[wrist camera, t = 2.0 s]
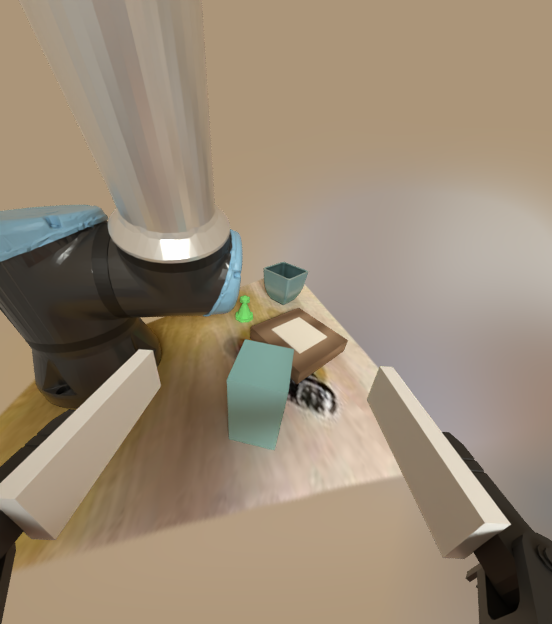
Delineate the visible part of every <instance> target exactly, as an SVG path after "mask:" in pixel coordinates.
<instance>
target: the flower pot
mask: <svg viewBox="0 0 552 624" xmlns="http://www.w3.org/2000/svg"><path fill="white" fill-rule="evenodd" d="M307 274H308V271H306V270H304V269H301V268H299V267H296V266H293V265H291V264H288V263H286V262H281V263H278V264H275V265H272V266H269V267H265V268H264V283H265V288H266V291H267V293H268V295H269V296H270V298H271V299H273V300H275V301H277V302H279V303H281V304H283V305H284V304H286V303H288V302H290V301H292V300H294V299H295V298H296V297H297V296H298V295H299V293H300V292H301V290H302V288H303V286H304V283H305V280H306V277H307Z"/></svg>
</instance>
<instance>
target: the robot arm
mask: <svg viewBox="0 0 552 624" xmlns="http://www.w3.org/2000/svg"><path fill="white" fill-rule="evenodd" d="M19 2H20V5H21V6H22V9H23V11H24V13H25V15H26V17H27V19H28V21H29V23H30V26H31V27H32V30H33V32H34V34H35V36H36V38H37V40H38V42H39V45H40V47H41V49H42V51H43V53H44V55H45V57H46V59H47V61H48V64H49V66H50V68H51V70H52V72H53V74H54V76H55V78H56V80H57V82H58V84H59V87H60V89H61V91H62V93H63V95H64V97H65V99H66V101H67V104H68V106H69V108H70V110H71V112H72V114H73V116H74V118H75V120H76V122H77V124H78V127H79V129H80V131H81V133H82V135H83V137H84V139H85V141H86V144H87V146H88V148H89V150H90V152H91V154H92V156H93V158H94V160H95V162H96V165H97V167H98V169H99V171H100V173H101V175H102V177H103V179H104V182H105V184H106V186H107V188H108V190H109V192H110V194H111V196H112V198H113V200H114V203H115V205H116V208H115V210H114V211H113V212H112V214H111V216H110V218H109V221H108V222H107V219H108V217H107V215H106V214H105V213H104V212H103V210H102V209H101V208H99V207H97V206H90V205H60V206H45V207H33V208H23V209H14V210H6V211H0V310H1V311H2V312H3V313H4V315H5V316H6V317H7V318H8V319H9V321H10V322H11V323H12V324H13V326H14V327H15V328H16V329H17V330H18V332H19V333H20V334H21V335H22V337H23V338H24V339H25V340H26V342H27V343H28V344H29V346H30V347H31V348H32V354H33V363H34V372H35V381H36V385H37V387H38V389H39V391H40V392H41V393H42V394H43V395H44V396H45V397H46V399H47V400H48V401H49V402H51V403H52V404H54V405H57V406H60V407H65V408H78V409H77V410H70V409H69V410H67V411H66V412H64V413H63V414H61V415H59V416H58V417H56V418H55V419H53V420H52V421H51V422H49V423H48V424H47V425H46V426H45V427H44V428H43V429H42V430H41V431H40V432H38V433H37V436H34V437H33V438H32V439H31V440H30V441H28V442H27V443H26V444H25V446H24V447H23V448H21V449H20V450H19V451H17V452H16V453H15V454H14V455H13V456H12V457H11V458H10V459H9V460H8V461H6V462H5V463H4V464H3V465H2V466H1V467H0V624H1V623H2V618H3V612H4V607H5V602H6V597H7V592H8V587H9V582H10V577H11V572H12V567H13V562H14V557H15V552H16V546H15V541H16V540H17V539H18V537H19V536H20V535H21V534H22V532H24V533H26V534H27V535H28V536H29V537H30V538H31V539H44V540H56V538H57V537H58V536H59V534H60V533H61V531H62V530H63V528H64V527H65V525H66V524H67V522H68V521H69V519H70V518H71V517H72V515H73V514H74V512H75V511H76V509H77V508H78V506H79V505H80V503H81V502H82V501H83V499H84V498H85V496H86V495H87V493H88V492H89V490H90V489H91V487H92V486H93V485H94V483H95V482H96V480H97V479H98V477H99V476H100V474H101V473H102V471H103V470H104V468H105V467H106V466H107V464H108V463H109V461H110V460H111V458H112V457H113V455H114V454H115V452H116V451H117V450H118V448H119V447H120V445H121V444H122V442H123V441H124V439H125V438H126V436H127V435H128V434H129V432H130V431H131V429H132V428H133V426H134V425H135V423H136V422H137V420H138V419H139V417H140V416H141V415H142V413H143V412H144V410H145V409H146V407H147V406H148V404H149V403H150V401H151V400H152V399H153V397H154V396H155V394H156V393H157V391H158V390H159V388H160V387H161V383H160V379H159V375H158V370H157V367H158V365H159V362H160V360H161V348H160V344H159V341H158V339H157V337H156V335H155V334H154V333H153V332H152V331H151V330H150V329H149V327H148V326H147V325H146V324H145V323H144V322H143V321H142V320H141V318H140V317H164V316H210V315H214V314H224V313H228V312H230V311H231V310H232V309H233V308H234V306H235V304H236V302H237V298H238V294H239V289H240V281H241V276H240V273H241V269H242V242H241V237H240V235H239V233H238V232H236V231H233V230H231V229H230V224H229V220H228V218H227V216H226V214H225V213H224V212H223V211H222V210H221V209H220V208H219V207H218V206H216V205H215V199H214V184H213V168H212V153H211V138H210V121H209V105H208V91H207V74H206V60H205V59H206V58H205V42H204V26H203V11H202V0H19ZM367 401H368V403H369V405H370V407H371V409H372V411H373V413H374V415H375V418H376V420H377V422H378V424H379V426H380V428H381V430H382V432H383V434H384V436H385V438H386V440H387V443H388V445H389V447H390V449H391V451H392V453H393V455H394V457H395V459H396V461H397V463H398V465H399V468H400V470H401V472H402V474H403V476H404V478H405V480H406V482H407V484H408V486H409V488H410V490H411V493H412V495H413V497H414V499H415V501H416V503H417V505H418V507H419V509H420V511H421V513H422V515H423V518H424V520H425V522H426V524H427V526H428V528H429V530H430V532H431V534H432V536H433V538H434V541H435V543H436V545H437V547H438V549H439V551H440V553H441V555H442V557H443V558H455V559H465V558H466V557H468V556H469V555H470V554H472V553H473V552H474V554H475V555H476V557H477V559H478V561H479V562H480V564H478V565H477V566H475V567H474V568H472V569H471V570H469V571H468V572H467V576H466V579H467V580H468V581H469V582H471V581H472V580H474V579H475V578H477V580H478V584H477V586H476V587H477V588H478V604H479V624H552V541H551V540H549V539H548V538H546V537H544V536H542V535H540V534H538V533H535V532H534V531H533V530H532V529H531V528H530V527H529V525H528V524H527V523H526V522H525V521H524V520H523V518H521V516H520V515H519V514H518V512H517V511H516V510H515V509H514V507H513V506H512V505H511V504H510V502H509V501H508V500H507V499H506V497H505V496H504V495H503V494H502V493H501V491H500V490H499V489H498V487H497V486H496V485H495V484H494V482H493V481H492V480H491V479H490V478H489V476H488V475H487V474H486V473H484V470H483V469H482V468H481V466H480V465H479V464H478V463H477V461H475V460H474V458H473V456H472V455H471V454H470V453H469V451H468V450H467V449H466V448H465V446H464V445H463V444H462V443H461V442H459V441H458V440H457V439H456V438H455V437H454V436H453V435H451V434H450V433H449V432H441V431H440V430H439V428H438V427H437V425H436V424H435V423H434V421H433V420H432V419H431V417H430V416H429V415H428V413H427V412H426V411H425V409H424V408H423V407H422V405H421V404H420V403H419V401H418V400H417V399H416V397H415V396H414V395H413V393H412V392H411V391H410V389H409V388H408V387H407V385H406V384H405V383H404V381H403V380H402V379H401V377H400V376H399V375H398V374H397V372H396V371H395V369H394V368H393V367H383V366H380V367H379V370H378V372H377V375H376V377H375V380H374V382H373V385H372V388H371V390H370V393H369V395H368V398H367Z"/></svg>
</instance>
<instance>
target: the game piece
mask: <svg viewBox="0 0 552 624" xmlns="http://www.w3.org/2000/svg"><path fill="white" fill-rule="evenodd" d="M240 302H241V303H242V305H241V307H240V309H239V311H238V312H236V320H238V321H239V322H249V321H251V320H252V319H253V314H252V312H250V310H249V307H248V305H247V303H250V297H248V296H241V297H240Z"/></svg>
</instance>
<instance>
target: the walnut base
mask: <svg viewBox="0 0 552 624" xmlns="http://www.w3.org/2000/svg"><path fill="white" fill-rule="evenodd" d="M250 338H251V339H252V340H253V341H256V342H261V343H266V344H271V345H276V346H281V347H286V348H290V349H294V354H293V362H292V369H291V376H290V378H291V379H292V380H293V381H294V382H295V383H296V384H298V383H300V382H301V381H302V380H304V379H305V378H307V377H308V376H309V375H311V374H312V373H314V372H315V371H316V370H318V369H319V368H321V367H322V366H323V365H325V364H326V363H328V362H329V361H330V360H332V359H333V358H335V357H336V356H337V355H339V354H340V353H342V352H343V351H344V349H345V346H346V344H347V341H348V340H347V339H345V338H343V337H342V336H340V335H339V334H337V333H336V332H334V331H333V330H331V329H330V328H328V327H327V326H325V325H324V324H322V323H321V322H319V321H318V320H316V319H315V318H313V317H312V316H310V315H309V314H307V313H306V312H304V311H303V310H301V309H300V308H297V309H294V310H292V311H289V312H287V313H284V314H282V315H279V316H277V317H274V318H272V319H269V320H267V321H264V322H262V323H259V324H257V325H254V326H252V327H251V334H250Z"/></svg>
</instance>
